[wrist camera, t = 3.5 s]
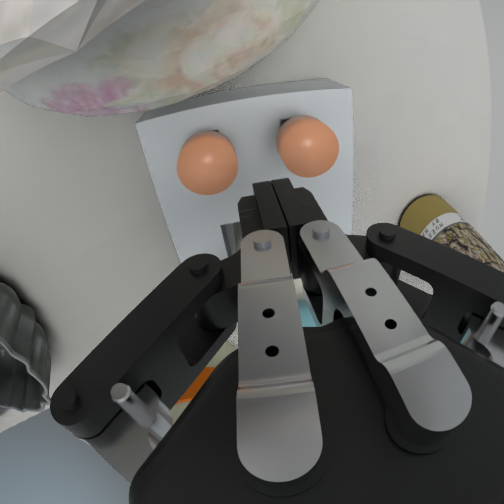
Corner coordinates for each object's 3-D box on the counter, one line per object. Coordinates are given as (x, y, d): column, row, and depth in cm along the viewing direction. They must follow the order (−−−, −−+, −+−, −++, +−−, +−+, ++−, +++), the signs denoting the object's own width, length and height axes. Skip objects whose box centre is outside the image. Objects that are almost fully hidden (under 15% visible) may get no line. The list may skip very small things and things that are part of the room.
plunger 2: (265, 109, 18) (278, 126, 15) (315, 104, 18) (338, 119, 15) (271, 156, 20) (284, 181, 17) (318, 149, 20) (339, 173, 17)
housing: (149, 108, 21) (135, 123, 17) (326, 78, 21) (351, 88, 18) (205, 291, 34) (206, 327, 30) (331, 268, 34) (345, 300, 30)
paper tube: (401, 252, 34) (507, 444, 14) (392, 207, 30) (534, 426, 10) (446, 228, 32) (564, 399, 13) (442, 182, 28) (596, 367, 9)
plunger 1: (177, 126, 18) (170, 146, 15) (228, 116, 18) (232, 133, 15) (189, 171, 20) (184, 200, 17) (237, 162, 20) (242, 188, 17)
